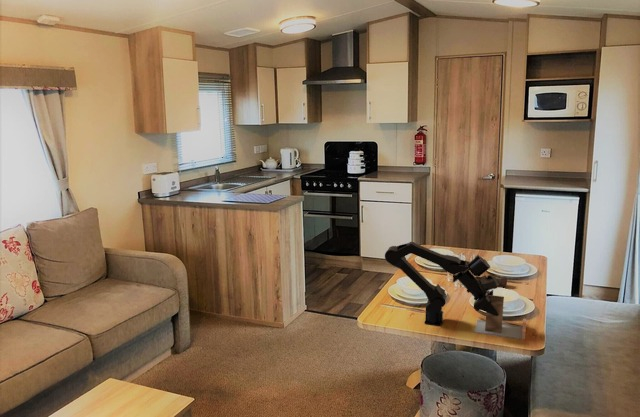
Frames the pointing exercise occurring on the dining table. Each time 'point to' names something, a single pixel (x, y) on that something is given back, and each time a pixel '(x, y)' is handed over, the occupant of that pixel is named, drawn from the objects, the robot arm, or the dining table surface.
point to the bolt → (501, 282)
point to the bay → (503, 330)
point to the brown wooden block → (491, 320)
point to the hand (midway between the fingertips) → (498, 312)
